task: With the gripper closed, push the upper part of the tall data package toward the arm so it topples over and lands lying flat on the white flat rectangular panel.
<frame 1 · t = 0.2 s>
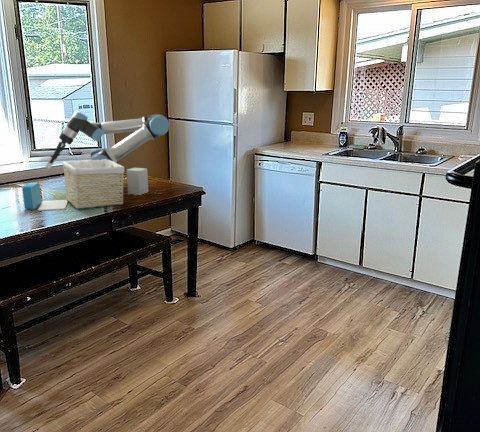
hand: (48, 165, 260), 16 cm above the table, tool tilted 35°, fingers open, 13 cm apart
supplement box: (138, 194, 264), on the table
white flat rectangular panel: (53, 205, 235), on the table
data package: (33, 207, 233), on the table
basket: (95, 202, 243), on the table, touching white flat rectangular panel
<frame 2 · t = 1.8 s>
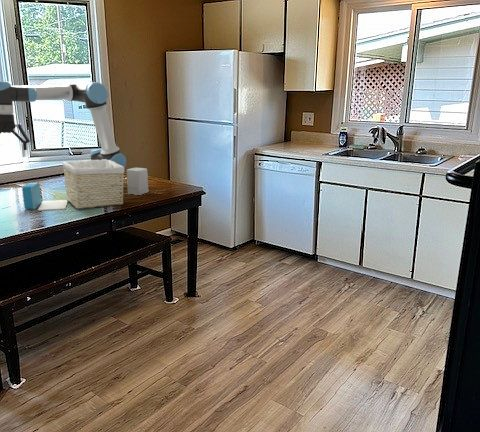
hand: (9, 156, 225), 26 cm above the table, tool pointing down, fingers open, 13 cm apart
nothing on the table moved.
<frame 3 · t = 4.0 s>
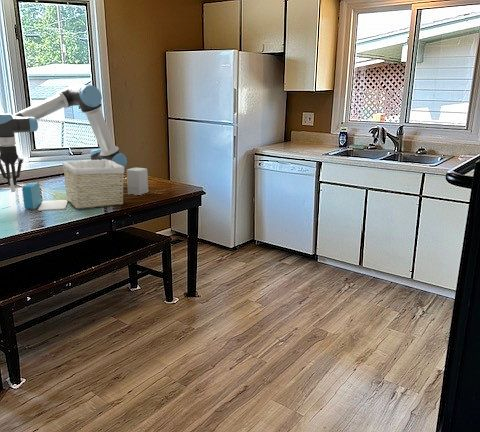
hand: (13, 191, 228), 9 cm above the table, tool pointing down, fingers closed
nothing on the table moved.
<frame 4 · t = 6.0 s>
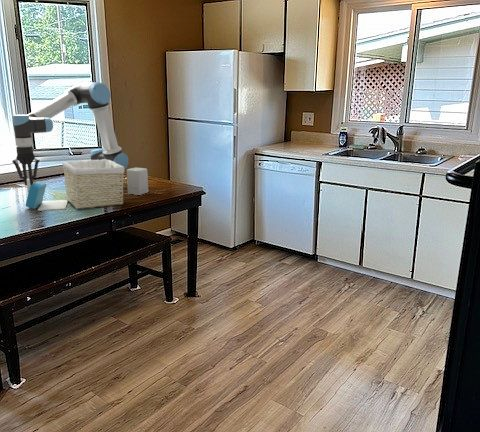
hand: (30, 191, 230), 8 cm above the table, tool pointing down, fingers closed
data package: (33, 205, 233), on the table, touching gripper
everything else where it was.
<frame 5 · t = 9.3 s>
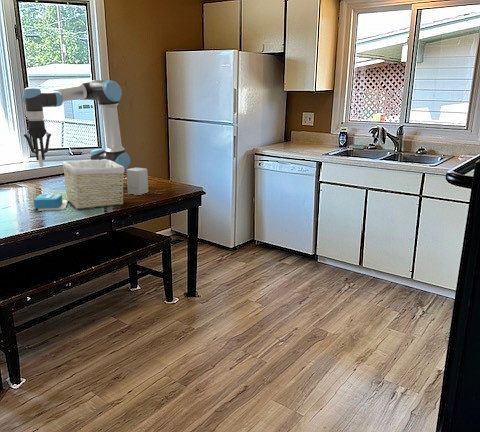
hand: (41, 166, 228), 21 cm above the table, tool pointing down, fingers closed
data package: (36, 201, 232), point 3 cm above the table, touching white flat rectangular panel
everything else where it was.
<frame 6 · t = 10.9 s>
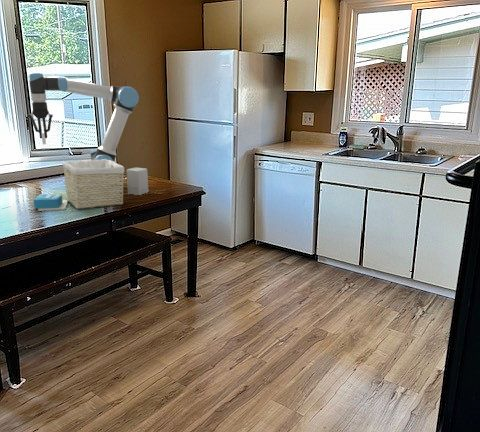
hand: (44, 144, 253), 29 cm above the table, tool pointing down, fingers closed
nothing on the table moved.
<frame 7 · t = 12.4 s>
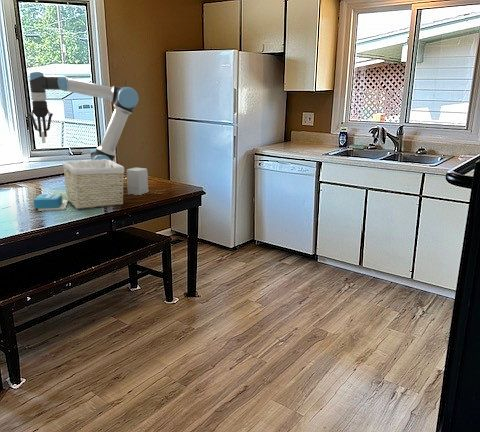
hand: (44, 142, 255), 29 cm above the table, tool pointing down, fingers closed
nothing on the table moved.
at the end: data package tilted 90°; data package touching white flat rectangular panel; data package inside the target area (3.4 cm from its centre), point 2.9 cm above the table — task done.
